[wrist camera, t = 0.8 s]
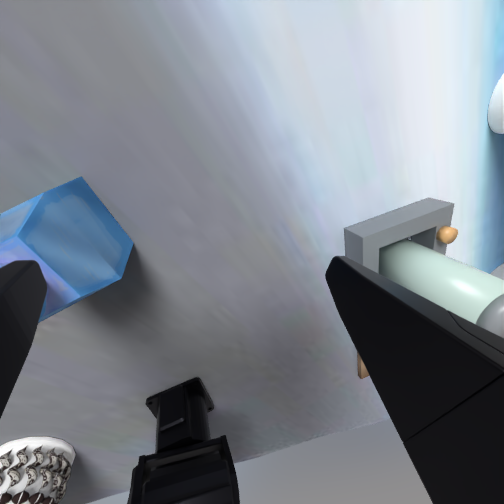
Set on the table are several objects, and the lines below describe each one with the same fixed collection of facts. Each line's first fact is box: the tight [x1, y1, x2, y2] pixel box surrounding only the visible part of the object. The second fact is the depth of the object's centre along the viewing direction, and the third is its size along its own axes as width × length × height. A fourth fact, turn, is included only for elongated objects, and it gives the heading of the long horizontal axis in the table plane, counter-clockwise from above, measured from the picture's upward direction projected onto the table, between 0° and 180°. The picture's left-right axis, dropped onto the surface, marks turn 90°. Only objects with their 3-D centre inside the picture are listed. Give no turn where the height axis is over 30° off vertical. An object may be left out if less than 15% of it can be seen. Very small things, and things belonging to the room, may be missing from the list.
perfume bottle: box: [0, 177, 133, 323], centre depth 14 cm, size 6×6×12 cm
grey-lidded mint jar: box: [378, 238, 504, 338], centre depth 25 cm, size 6×6×13 cm
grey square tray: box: [344, 198, 458, 273], centre depth 29 cm, size 12×12×4 cm
